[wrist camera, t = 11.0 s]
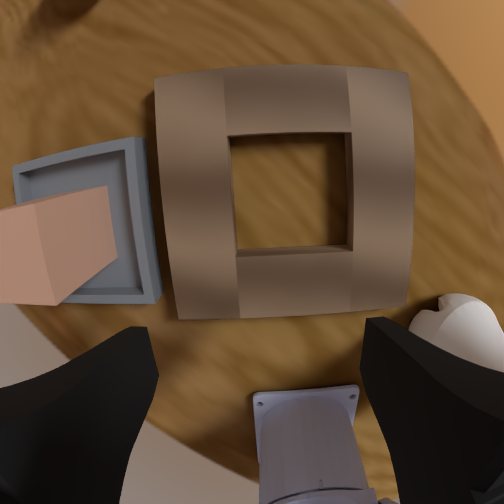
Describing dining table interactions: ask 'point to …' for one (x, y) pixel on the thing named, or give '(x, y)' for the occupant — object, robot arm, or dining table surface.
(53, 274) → the block
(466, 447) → the robot arm
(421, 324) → the water bottle
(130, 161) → the tray
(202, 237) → the board
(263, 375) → the dining table surface
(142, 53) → the dining table surface
